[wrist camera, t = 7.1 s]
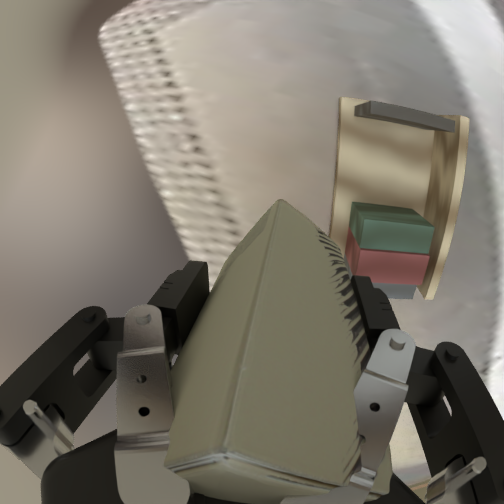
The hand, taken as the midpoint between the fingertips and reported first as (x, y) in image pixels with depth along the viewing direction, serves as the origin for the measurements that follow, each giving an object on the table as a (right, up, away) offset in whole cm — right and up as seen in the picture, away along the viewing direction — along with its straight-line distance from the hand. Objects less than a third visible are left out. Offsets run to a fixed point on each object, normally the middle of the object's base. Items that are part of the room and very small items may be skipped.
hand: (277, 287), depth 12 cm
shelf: (+15, +9, +19) cm, 26 cm away
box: (+1, +2, +3) cm, 4 cm away
